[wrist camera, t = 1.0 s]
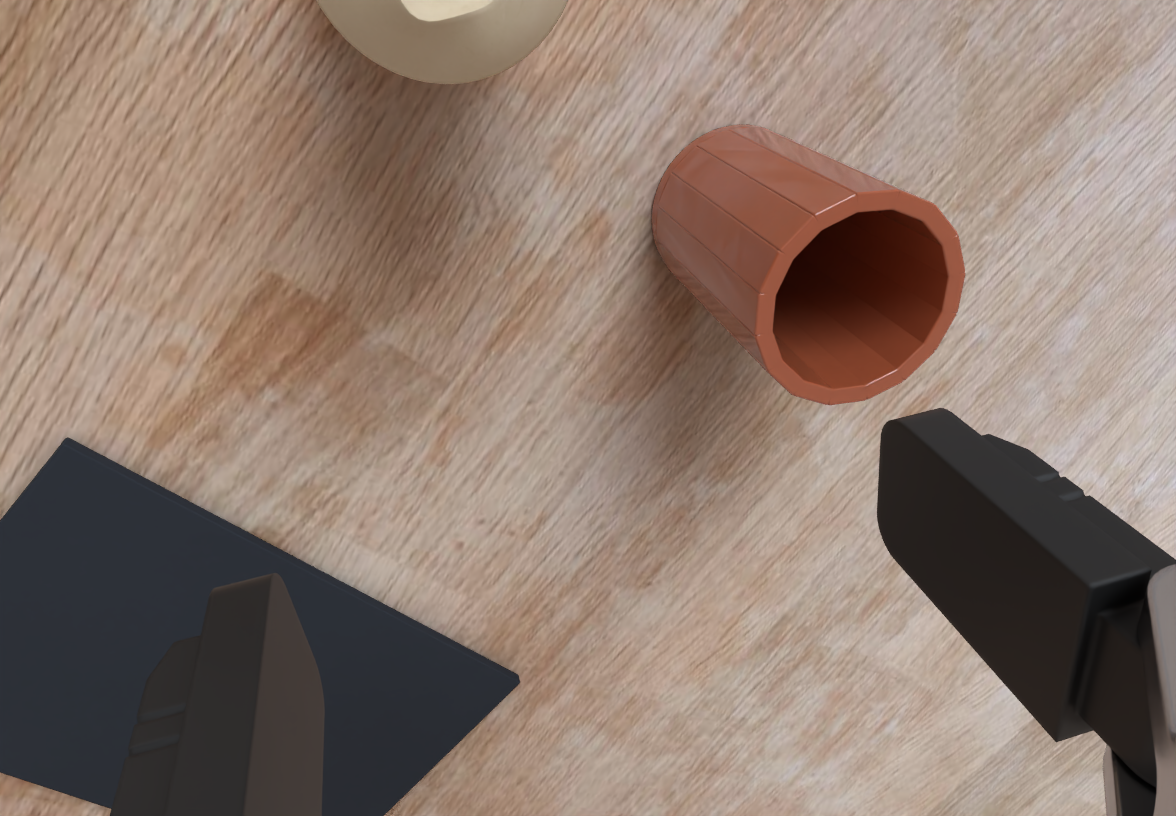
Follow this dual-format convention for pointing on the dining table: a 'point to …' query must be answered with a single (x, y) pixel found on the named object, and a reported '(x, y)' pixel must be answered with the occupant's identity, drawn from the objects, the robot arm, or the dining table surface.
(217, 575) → the slate mat
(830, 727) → the dining table surface
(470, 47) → the candle
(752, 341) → the terracotta cup
